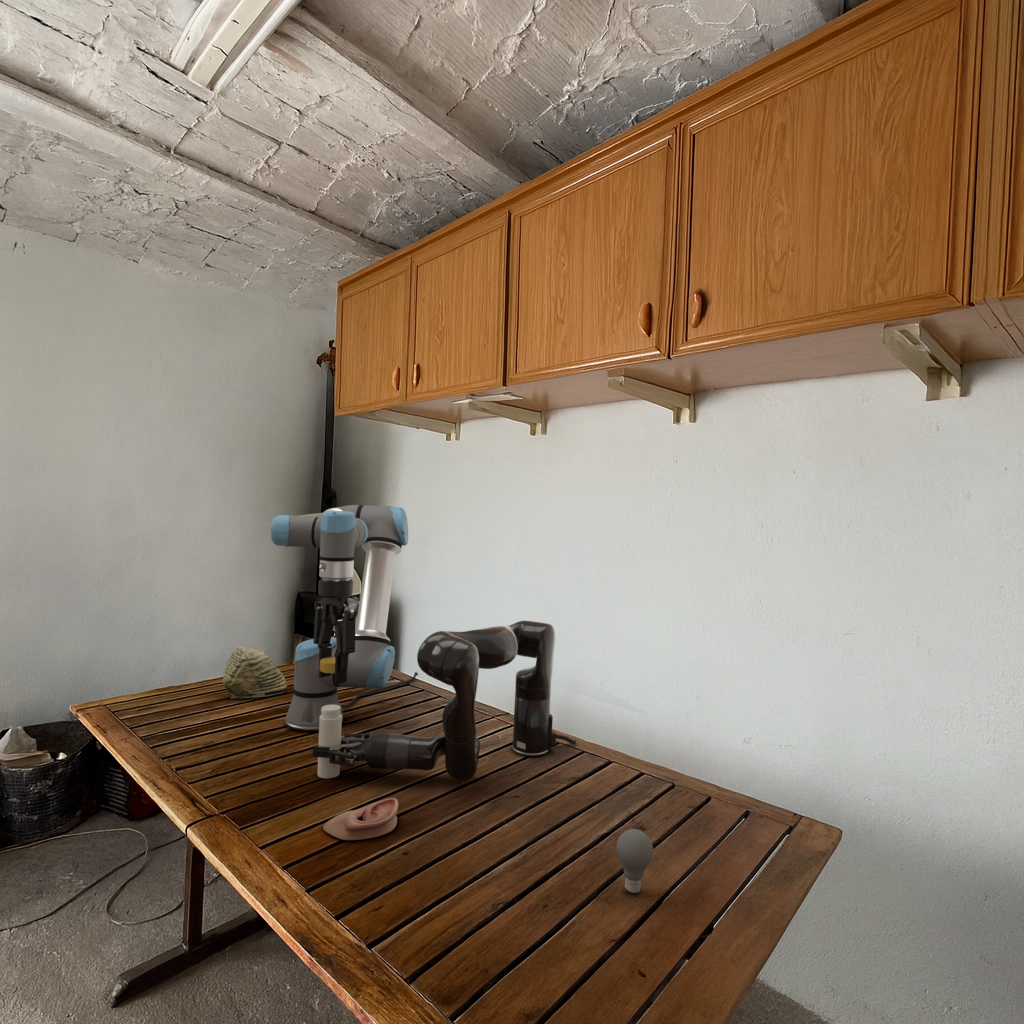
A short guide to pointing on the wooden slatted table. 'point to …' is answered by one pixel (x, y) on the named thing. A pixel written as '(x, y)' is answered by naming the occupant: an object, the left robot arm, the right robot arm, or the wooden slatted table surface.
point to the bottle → (329, 738)
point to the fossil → (252, 674)
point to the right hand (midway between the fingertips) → (318, 746)
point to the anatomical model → (364, 821)
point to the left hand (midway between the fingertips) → (332, 679)
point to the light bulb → (634, 857)
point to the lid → (327, 665)
